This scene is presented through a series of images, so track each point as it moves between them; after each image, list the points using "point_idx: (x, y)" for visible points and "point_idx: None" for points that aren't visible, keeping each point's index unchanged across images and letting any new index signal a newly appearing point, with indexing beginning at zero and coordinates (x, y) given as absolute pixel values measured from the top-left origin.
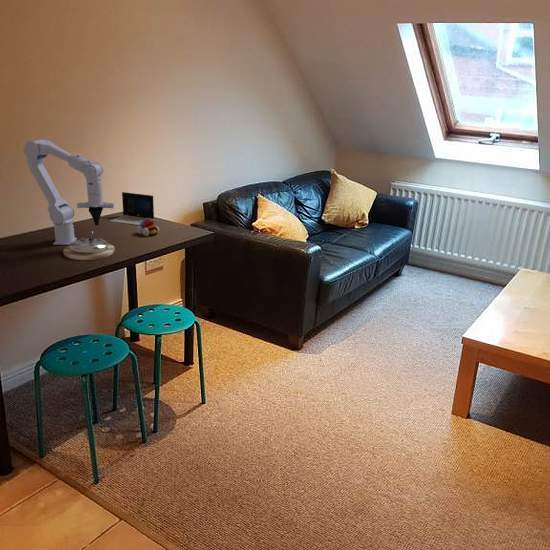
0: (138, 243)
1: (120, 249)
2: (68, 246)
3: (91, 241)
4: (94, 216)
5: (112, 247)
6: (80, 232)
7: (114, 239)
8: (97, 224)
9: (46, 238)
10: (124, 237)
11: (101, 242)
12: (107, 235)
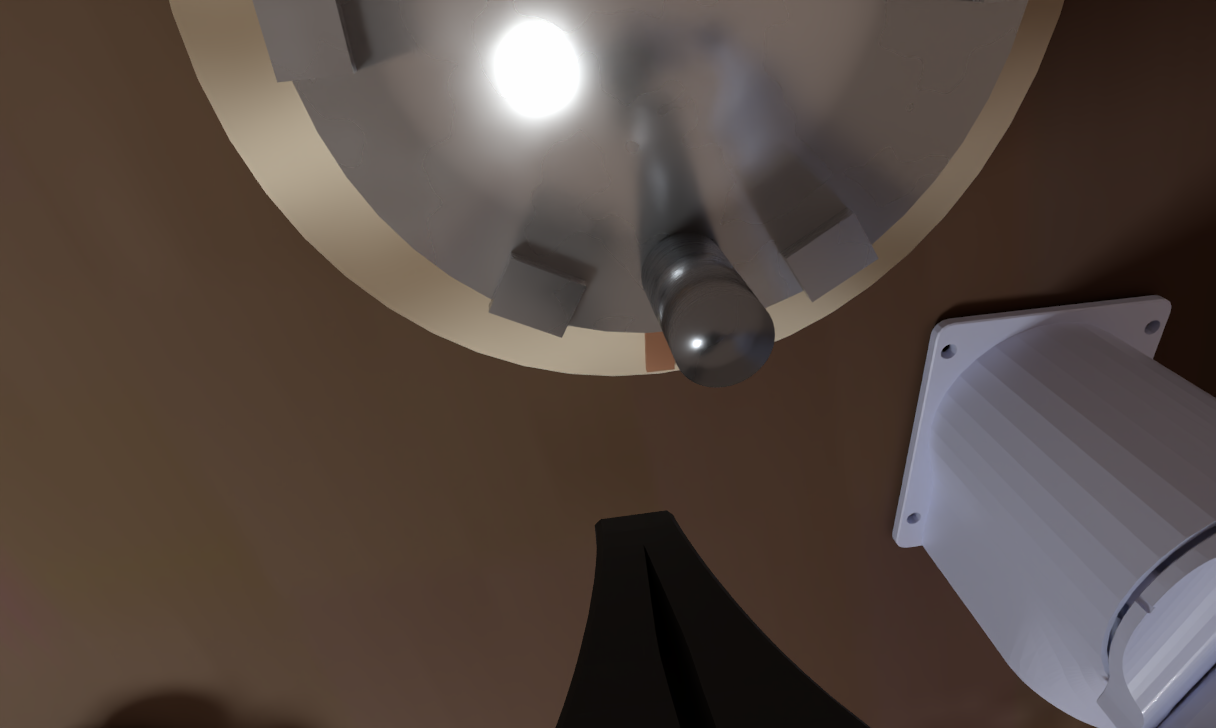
0: (62, 503)
1: (183, 202)
2: (1005, 105)
3: (656, 161)
4: (720, 679)
5: (257, 114)
6: (868, 704)
7: (459, 587)
8: (614, 529)
9: None
10: (368, 663)
11: (446, 113)
12: None
